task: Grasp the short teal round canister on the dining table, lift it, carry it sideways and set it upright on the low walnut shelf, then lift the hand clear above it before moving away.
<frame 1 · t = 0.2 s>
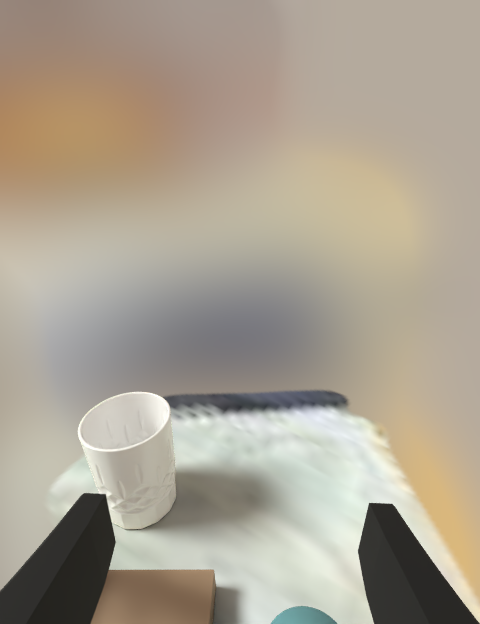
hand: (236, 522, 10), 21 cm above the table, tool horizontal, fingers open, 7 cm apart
white cup: (143, 500, 36), on the table
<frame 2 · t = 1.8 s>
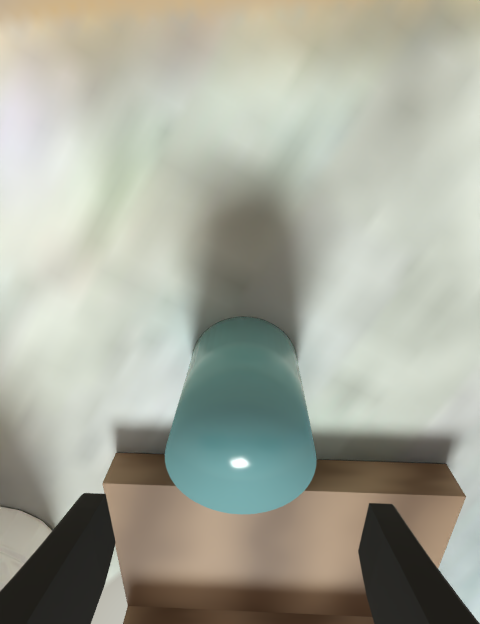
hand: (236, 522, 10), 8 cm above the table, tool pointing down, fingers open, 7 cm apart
teal round canister: (244, 363, 17), on the table
walnut shelf: (273, 530, 22), on the table
white cup: (12, 536, 24), on the table
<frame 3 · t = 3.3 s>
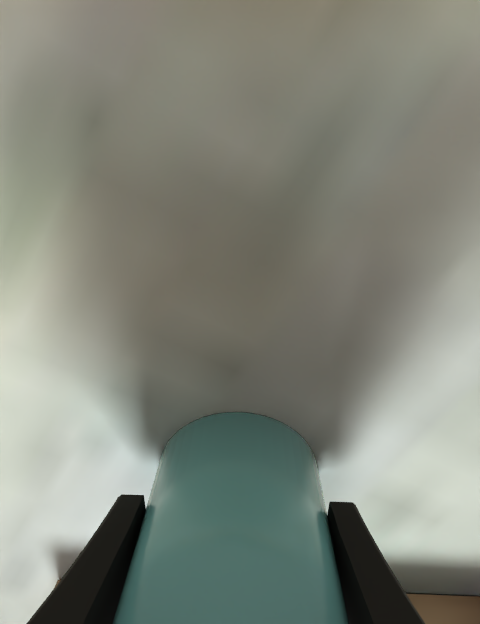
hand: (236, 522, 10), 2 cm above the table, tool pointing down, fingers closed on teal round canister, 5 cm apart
teal round canister: (238, 474, 12), on the table, touching gripper
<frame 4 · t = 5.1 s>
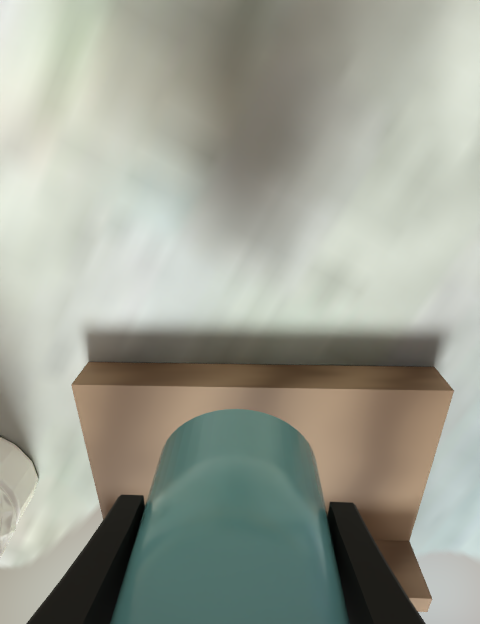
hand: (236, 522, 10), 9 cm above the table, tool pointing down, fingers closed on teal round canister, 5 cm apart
teal round canister: (237, 472, 12), point 8 cm above the table, touching gripper
walnut shelf: (257, 450, 21), on the table
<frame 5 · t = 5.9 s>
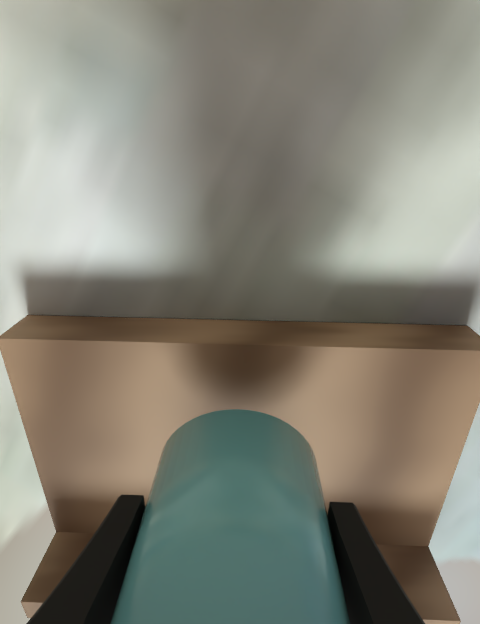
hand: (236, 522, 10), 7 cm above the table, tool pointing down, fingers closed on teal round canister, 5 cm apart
teal round canister: (237, 472, 12), point 5 cm above the table, touching gripper
walnut shelf: (242, 432, 17), on the table
when the fingers open (5 cm above the table, at t = 6.8 s): teal round canister stays where it is, resting on walnut shelf.
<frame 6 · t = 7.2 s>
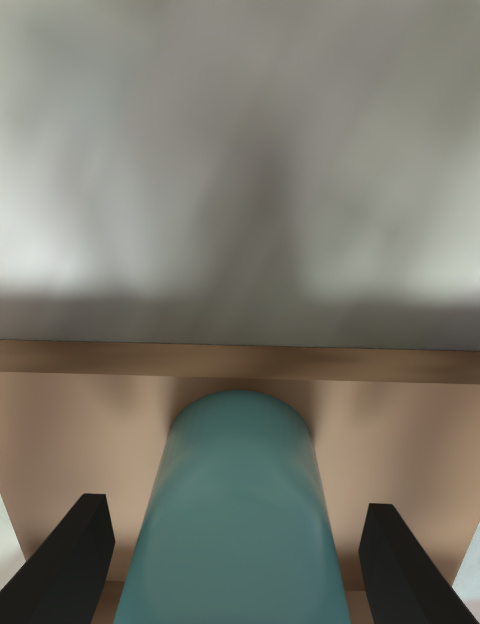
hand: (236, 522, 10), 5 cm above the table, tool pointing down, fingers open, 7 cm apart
teal round canister: (239, 449, 12), point 2 cm above the table, touching walnut shelf
walnut shelf: (240, 467, 16), on the table
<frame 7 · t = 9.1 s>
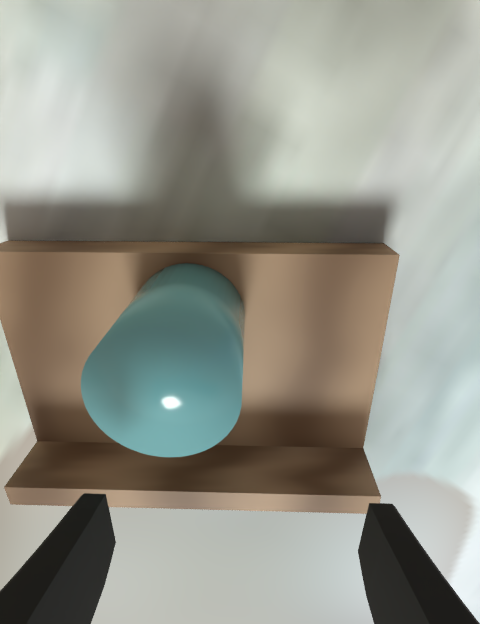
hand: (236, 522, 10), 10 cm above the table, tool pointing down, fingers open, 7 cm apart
teal round canister: (190, 315, 17), point 2 cm above the table, touching walnut shelf
walnut shelf: (199, 350, 20), on the table
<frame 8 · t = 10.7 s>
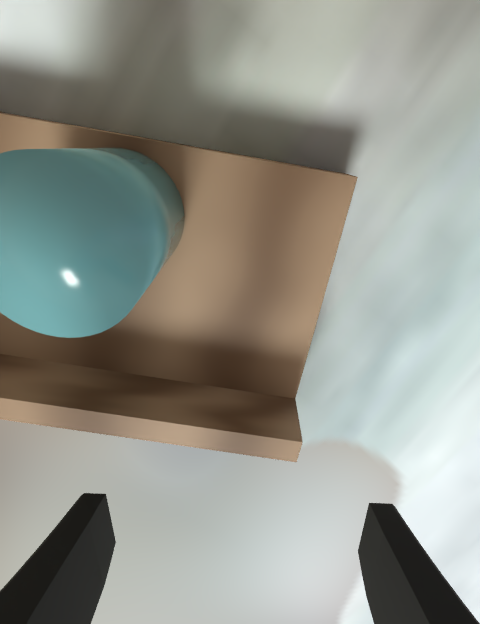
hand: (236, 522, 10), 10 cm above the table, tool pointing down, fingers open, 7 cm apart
teal round canister: (124, 214, 15), point 2 cm above the table, touching walnut shelf
walnut shelf: (134, 269, 18), on the table
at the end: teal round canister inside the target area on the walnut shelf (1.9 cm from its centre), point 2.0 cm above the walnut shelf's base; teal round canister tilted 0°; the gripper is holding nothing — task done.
